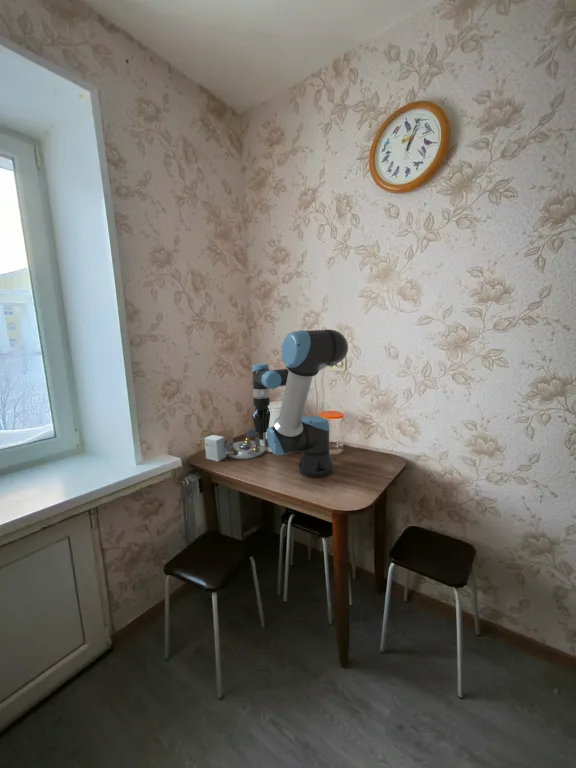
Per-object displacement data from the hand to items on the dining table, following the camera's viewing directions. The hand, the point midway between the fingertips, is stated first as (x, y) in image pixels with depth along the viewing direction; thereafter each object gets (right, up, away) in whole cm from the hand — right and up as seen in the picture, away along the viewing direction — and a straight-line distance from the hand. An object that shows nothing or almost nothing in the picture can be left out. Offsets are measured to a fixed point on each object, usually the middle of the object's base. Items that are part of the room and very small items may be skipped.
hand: (262, 445), depth 159 cm
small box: (-22, -6, 0) cm, 23 cm away
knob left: (-16, -4, +1) cm, 16 cm away
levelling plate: (-9, -4, +8) cm, 13 cm away
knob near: (-1, -3, +3) cm, 4 cm away
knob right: (-7, 0, +17) cm, 18 cm away
